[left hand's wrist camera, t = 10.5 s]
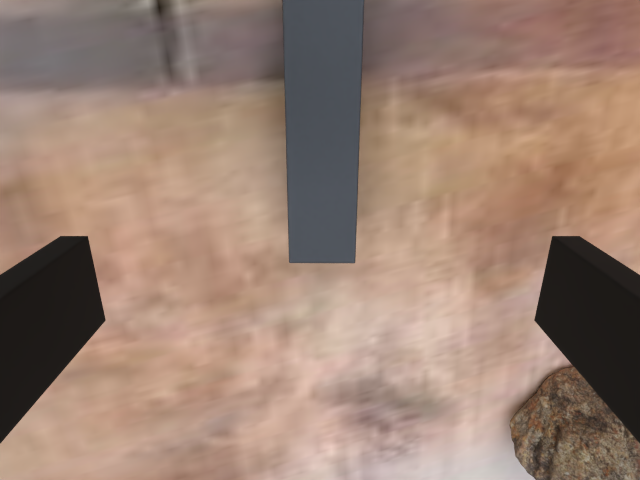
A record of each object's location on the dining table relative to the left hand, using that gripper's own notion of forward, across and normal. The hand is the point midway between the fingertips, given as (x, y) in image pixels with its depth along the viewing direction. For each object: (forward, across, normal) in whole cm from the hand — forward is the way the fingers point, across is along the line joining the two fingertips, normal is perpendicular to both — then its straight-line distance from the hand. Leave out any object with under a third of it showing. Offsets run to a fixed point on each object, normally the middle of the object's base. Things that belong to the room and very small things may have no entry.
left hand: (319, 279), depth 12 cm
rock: (+23, -26, +25) cm, 43 cm away
